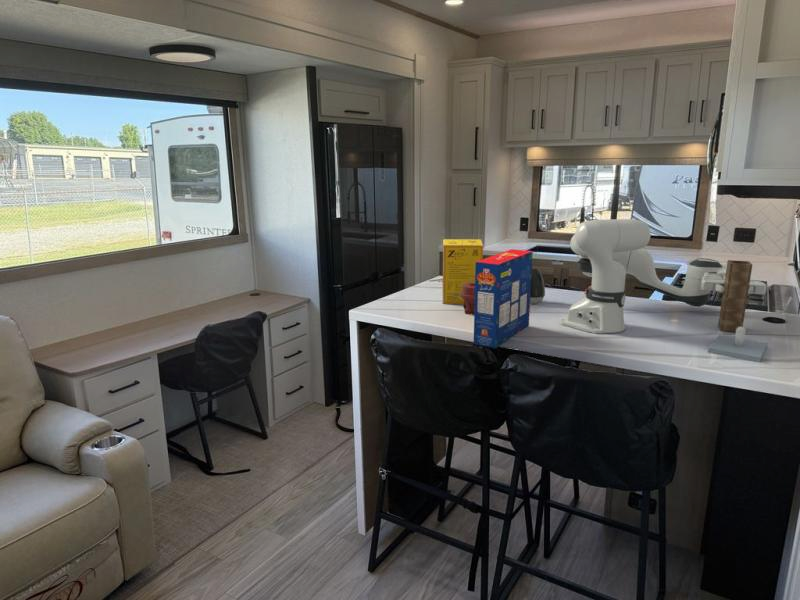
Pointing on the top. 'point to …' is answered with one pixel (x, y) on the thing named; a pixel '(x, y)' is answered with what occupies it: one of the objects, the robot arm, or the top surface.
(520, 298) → the blue food box
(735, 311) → the walnut sleeve
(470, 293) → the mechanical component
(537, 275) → the dark gray domed cylinder
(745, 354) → the base plate
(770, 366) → the top surface
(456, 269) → the packaging box
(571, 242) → the robot arm
